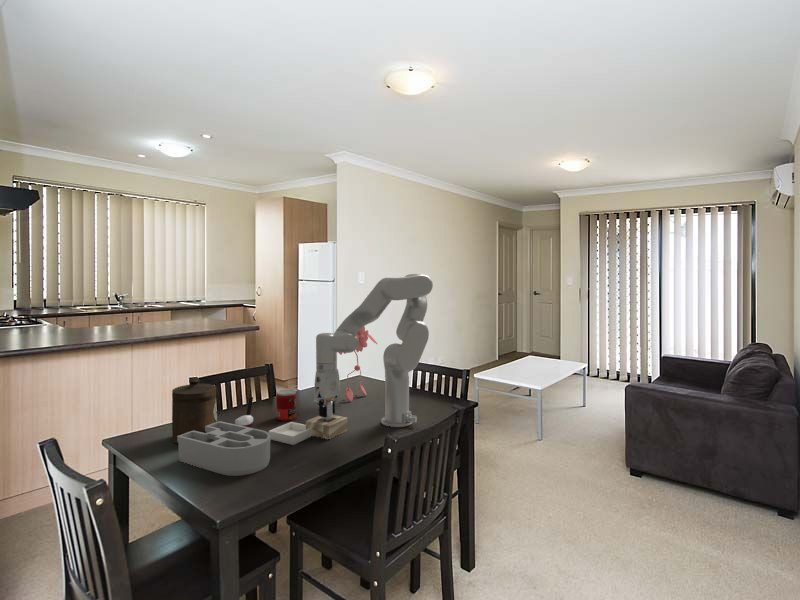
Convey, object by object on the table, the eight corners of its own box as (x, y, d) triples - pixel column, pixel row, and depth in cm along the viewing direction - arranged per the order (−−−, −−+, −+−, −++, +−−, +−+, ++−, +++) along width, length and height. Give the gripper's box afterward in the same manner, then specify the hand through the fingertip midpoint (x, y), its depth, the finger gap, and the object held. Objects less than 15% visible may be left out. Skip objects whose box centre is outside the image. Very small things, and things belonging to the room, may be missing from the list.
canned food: (291, 421, 184) (291, 394, 183) (273, 420, 186) (272, 393, 185) (299, 415, 191) (299, 390, 191) (281, 414, 193) (281, 389, 192)
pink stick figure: (330, 403, 209) (331, 327, 207) (365, 391, 231) (366, 322, 228) (356, 409, 201) (357, 330, 198) (390, 396, 222) (391, 325, 220)
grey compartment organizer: (219, 445, 159) (219, 421, 159) (282, 460, 147) (281, 434, 146) (177, 463, 145) (176, 436, 144) (242, 482, 132) (241, 452, 131)
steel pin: (337, 431, 173) (336, 394, 172) (328, 435, 168) (328, 398, 167) (326, 429, 175) (325, 393, 174) (317, 433, 171) (316, 396, 170)
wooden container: (226, 435, 169) (224, 376, 168) (189, 448, 156) (188, 384, 155) (200, 428, 176) (198, 371, 175) (163, 440, 164) (161, 379, 162)
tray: (315, 434, 169) (314, 426, 169) (293, 445, 159) (293, 436, 159) (291, 429, 175) (291, 421, 175) (268, 439, 165) (268, 430, 165)
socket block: (347, 430, 174) (347, 417, 174) (329, 439, 164) (329, 426, 164) (324, 425, 179) (324, 413, 179) (305, 434, 170) (305, 421, 169)
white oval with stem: (238, 438, 167) (237, 406, 165) (229, 433, 171) (227, 402, 169) (261, 430, 174) (260, 399, 173) (251, 426, 178) (250, 396, 177)
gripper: (319, 372, 161) (320, 423, 162) (348, 363, 176) (348, 410, 177) (303, 369, 165) (304, 419, 166) (332, 361, 179) (333, 407, 181)
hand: (327, 414), depth 171 cm, fingers closed on steel pin, 4 cm apart
